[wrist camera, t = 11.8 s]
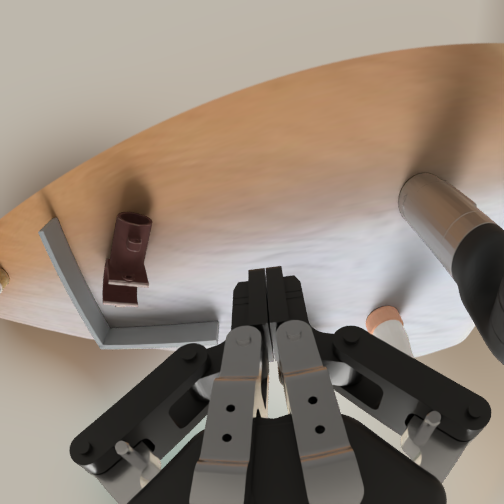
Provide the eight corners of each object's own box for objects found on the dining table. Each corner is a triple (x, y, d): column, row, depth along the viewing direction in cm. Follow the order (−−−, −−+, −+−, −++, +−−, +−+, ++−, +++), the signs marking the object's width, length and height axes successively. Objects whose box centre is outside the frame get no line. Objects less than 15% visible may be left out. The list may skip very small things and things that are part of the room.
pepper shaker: (363, 333, 62) (388, 409, 46) (368, 308, 59) (398, 387, 42) (394, 328, 62) (424, 401, 46) (401, 303, 58) (437, 378, 42)
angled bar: (182, 190, 46) (175, 204, 41) (219, 325, 60) (217, 344, 56) (52, 218, 47) (38, 232, 43) (107, 332, 62) (100, 349, 58)
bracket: (101, 295, 53) (104, 329, 45) (114, 205, 48) (116, 228, 40) (132, 297, 56) (140, 331, 48) (149, 211, 51) (159, 233, 43)
